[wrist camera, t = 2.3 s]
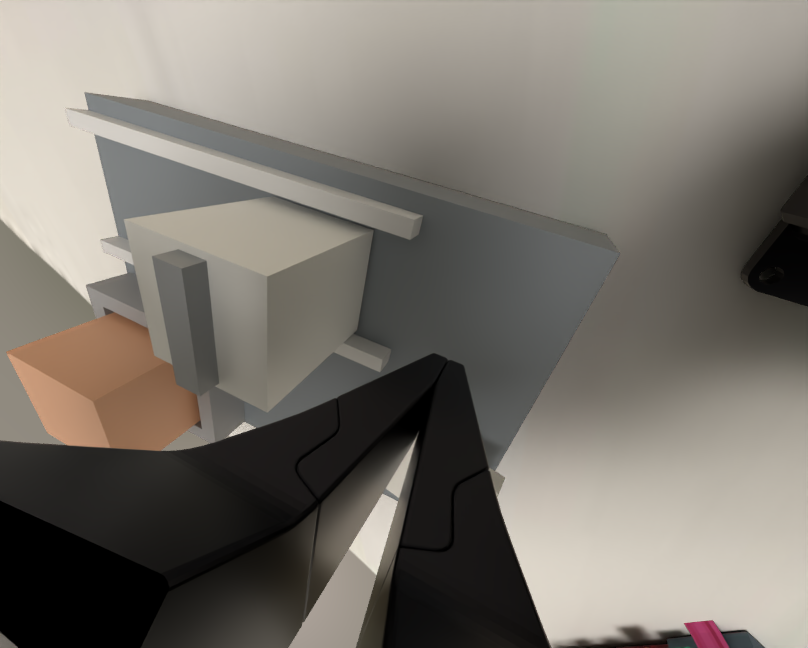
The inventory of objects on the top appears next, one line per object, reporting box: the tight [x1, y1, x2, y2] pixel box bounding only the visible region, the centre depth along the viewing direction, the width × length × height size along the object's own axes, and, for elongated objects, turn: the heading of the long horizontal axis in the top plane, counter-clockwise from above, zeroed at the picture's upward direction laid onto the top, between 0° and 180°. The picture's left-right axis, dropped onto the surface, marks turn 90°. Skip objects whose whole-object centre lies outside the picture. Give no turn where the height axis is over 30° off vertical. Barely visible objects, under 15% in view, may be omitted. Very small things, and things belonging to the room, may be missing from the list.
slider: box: [124, 196, 374, 413], centre depth 10 cm, size 4×4×6 cm
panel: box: [65, 92, 620, 501], centre depth 15 cm, size 20×14×4 cm
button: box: [6, 312, 201, 451], centre depth 15 cm, size 5×5×4 cm
